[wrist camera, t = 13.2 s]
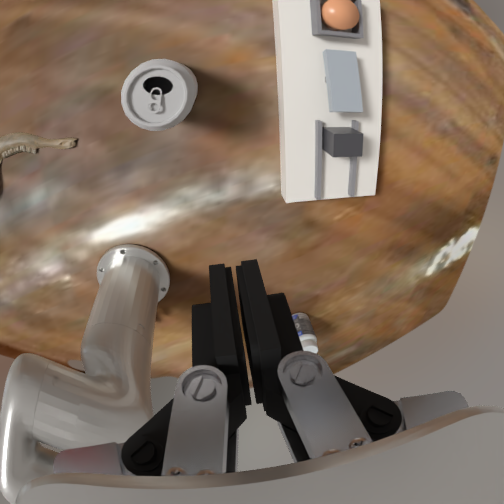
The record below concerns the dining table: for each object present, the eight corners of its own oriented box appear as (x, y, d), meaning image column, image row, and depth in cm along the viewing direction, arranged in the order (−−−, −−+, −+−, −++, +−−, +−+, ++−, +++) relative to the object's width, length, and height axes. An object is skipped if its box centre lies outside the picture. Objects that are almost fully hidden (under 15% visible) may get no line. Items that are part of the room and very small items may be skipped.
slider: (349, 148, 39) (362, 156, 36) (322, 148, 39) (333, 157, 36) (349, 127, 38) (363, 133, 34) (322, 127, 37) (333, 133, 34)
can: (203, 66, 34) (203, 63, 24) (191, 120, 38) (186, 139, 28) (146, 59, 32) (123, 55, 22) (136, 113, 36) (111, 130, 26)
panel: (366, 187, 47) (381, 201, 42) (281, 194, 45) (290, 209, 41) (368, 0, 30) (387, -5, 26) (271, -10, 29) (280, -20, 24)
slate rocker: (358, 112, 34) (362, 112, 33) (329, 112, 34) (333, 111, 33) (351, 54, 32) (355, 51, 30) (322, 51, 31) (325, 49, 30)
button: (351, 32, 30) (360, 31, 28) (319, 29, 30) (326, 27, 28) (349, 2, 28) (358, -1, 26) (317, -2, 27) (324, -5, 25)
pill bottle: (291, 310, 59) (302, 343, 52) (312, 313, 60) (325, 345, 53) (281, 326, 61) (290, 359, 54) (301, 329, 63) (312, 361, 56)
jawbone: (-26, 153, 33) (-33, 156, 31) (61, 88, 32) (55, 88, 31) (-7, 199, 37) (-14, 203, 36) (81, 142, 37) (76, 144, 35)
